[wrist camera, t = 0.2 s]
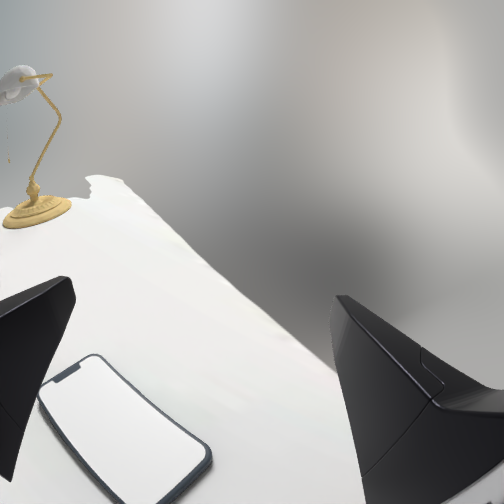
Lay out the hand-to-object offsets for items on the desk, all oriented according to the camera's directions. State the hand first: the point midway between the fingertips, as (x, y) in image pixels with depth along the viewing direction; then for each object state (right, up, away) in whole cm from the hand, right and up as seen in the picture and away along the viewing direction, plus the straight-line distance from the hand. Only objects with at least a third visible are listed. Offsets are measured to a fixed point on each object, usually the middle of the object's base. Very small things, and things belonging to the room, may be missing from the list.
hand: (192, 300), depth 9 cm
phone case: (-10, -14, +10) cm, 19 cm away
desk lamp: (-58, +12, +54) cm, 80 cm away
